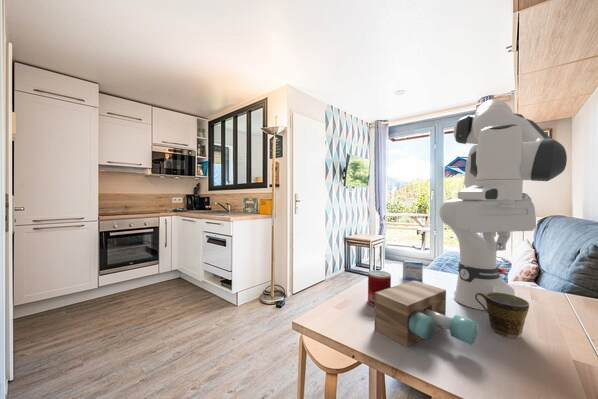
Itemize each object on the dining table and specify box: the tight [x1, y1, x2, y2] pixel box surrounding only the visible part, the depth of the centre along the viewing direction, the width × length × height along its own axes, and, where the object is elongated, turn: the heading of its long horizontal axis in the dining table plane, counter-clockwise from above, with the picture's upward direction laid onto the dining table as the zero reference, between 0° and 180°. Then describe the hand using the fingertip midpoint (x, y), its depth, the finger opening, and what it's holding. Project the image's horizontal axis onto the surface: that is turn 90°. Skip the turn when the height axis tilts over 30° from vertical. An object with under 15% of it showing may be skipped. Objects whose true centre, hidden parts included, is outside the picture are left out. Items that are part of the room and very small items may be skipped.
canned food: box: [367, 270, 392, 306], centre depth 93 cm, size 8×8×11 cm
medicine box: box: [402, 259, 424, 282], centre depth 120 cm, size 8×4×9 cm, turn 81°
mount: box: [374, 280, 447, 348], centre depth 74 cm, size 20×15×11 cm
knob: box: [424, 308, 478, 346], centre depth 68 cm, size 6×14×6 cm, turn 34°
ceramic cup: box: [475, 292, 530, 339], centre depth 75 cm, size 13×10×10 cm
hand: (496, 250), depth 60 cm, fingers closed
